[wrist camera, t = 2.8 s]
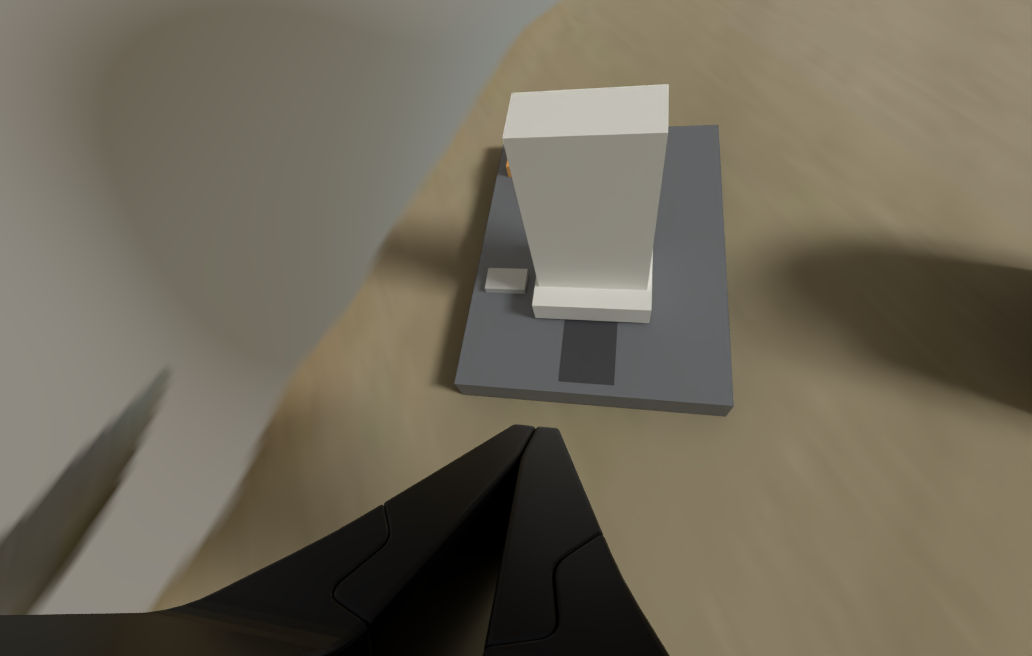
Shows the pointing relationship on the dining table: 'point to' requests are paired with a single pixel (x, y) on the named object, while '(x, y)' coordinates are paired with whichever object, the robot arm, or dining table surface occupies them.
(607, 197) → the tab
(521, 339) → the switch panel
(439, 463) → the dining table surface
